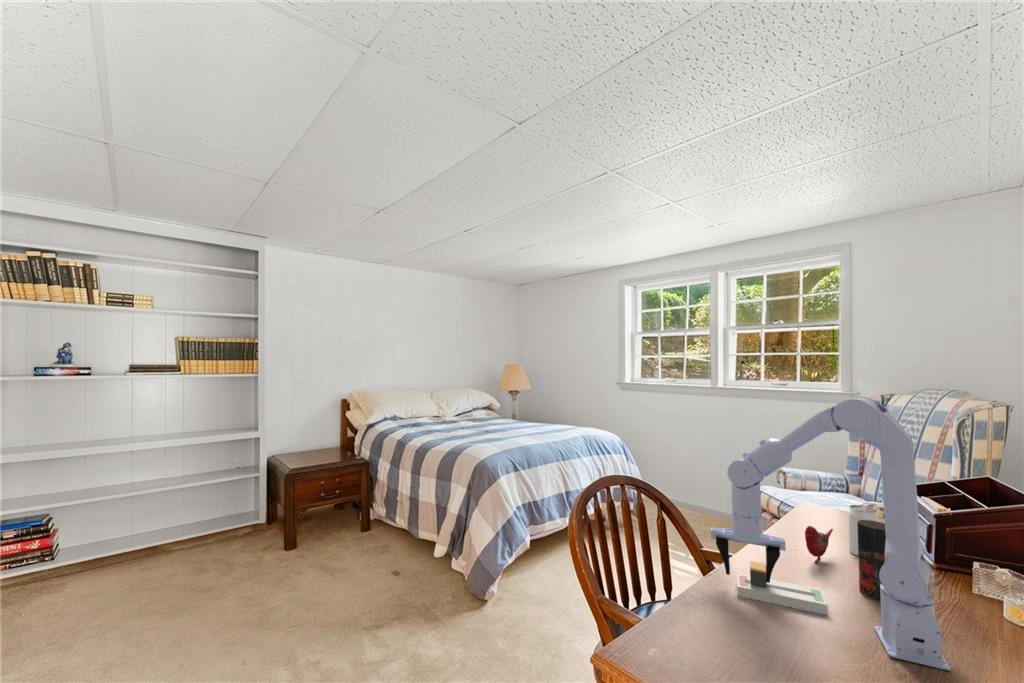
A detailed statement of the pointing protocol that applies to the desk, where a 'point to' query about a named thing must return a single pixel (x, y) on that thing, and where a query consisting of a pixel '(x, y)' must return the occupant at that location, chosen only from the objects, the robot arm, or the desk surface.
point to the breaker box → (784, 594)
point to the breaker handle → (758, 574)
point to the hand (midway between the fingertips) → (747, 576)
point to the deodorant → (871, 557)
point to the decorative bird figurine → (816, 542)
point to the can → (853, 516)
